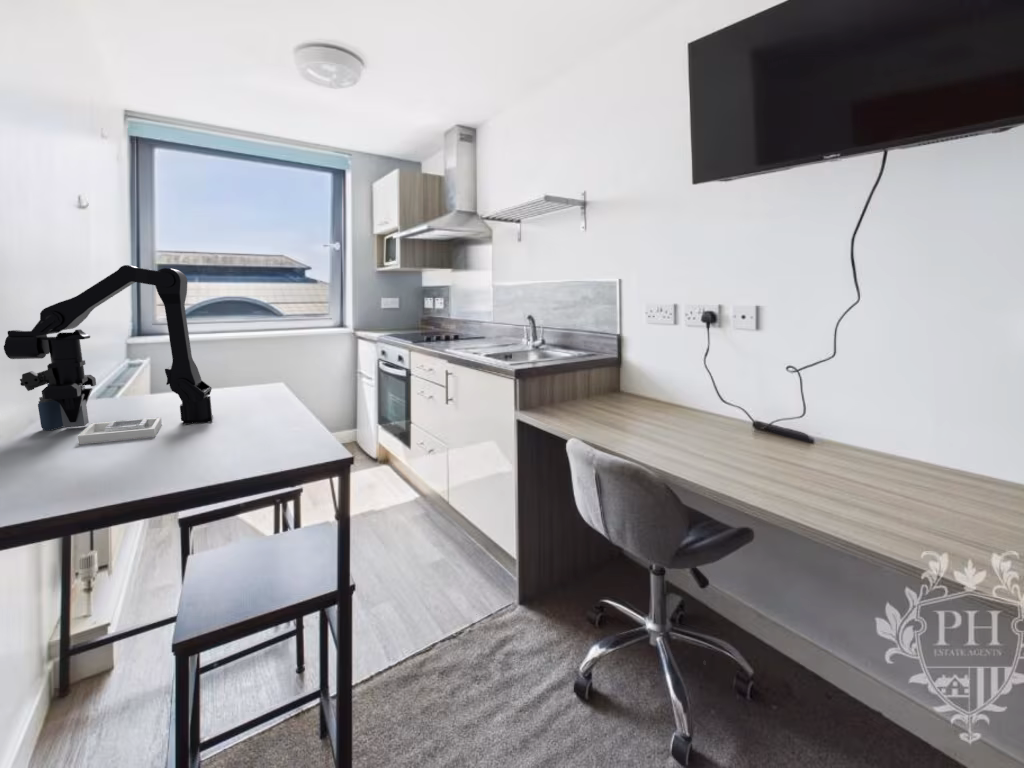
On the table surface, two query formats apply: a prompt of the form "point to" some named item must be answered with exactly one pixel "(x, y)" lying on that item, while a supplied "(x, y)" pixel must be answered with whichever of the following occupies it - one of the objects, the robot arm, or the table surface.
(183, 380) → the robot arm
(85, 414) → the block
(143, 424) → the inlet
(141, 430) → the walled tray
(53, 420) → the vaping device
